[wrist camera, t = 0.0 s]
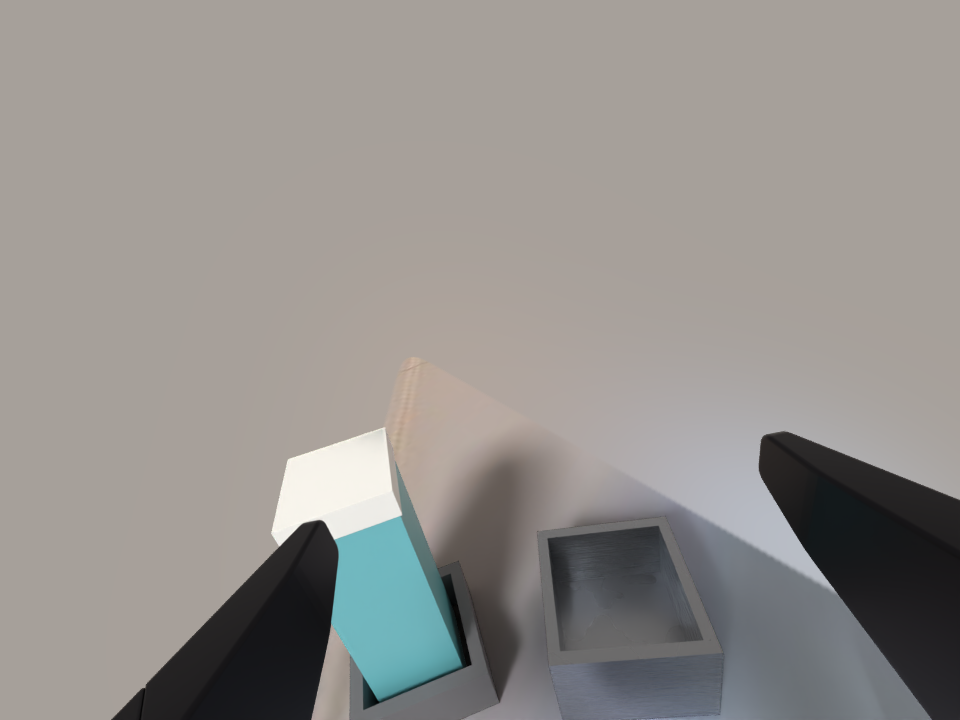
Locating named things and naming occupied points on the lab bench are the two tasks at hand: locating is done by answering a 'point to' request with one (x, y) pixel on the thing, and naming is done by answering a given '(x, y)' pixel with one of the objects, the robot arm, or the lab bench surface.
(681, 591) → the box
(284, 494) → the plug
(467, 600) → the frame
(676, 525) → the lab bench surface
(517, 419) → the lab bench surface
